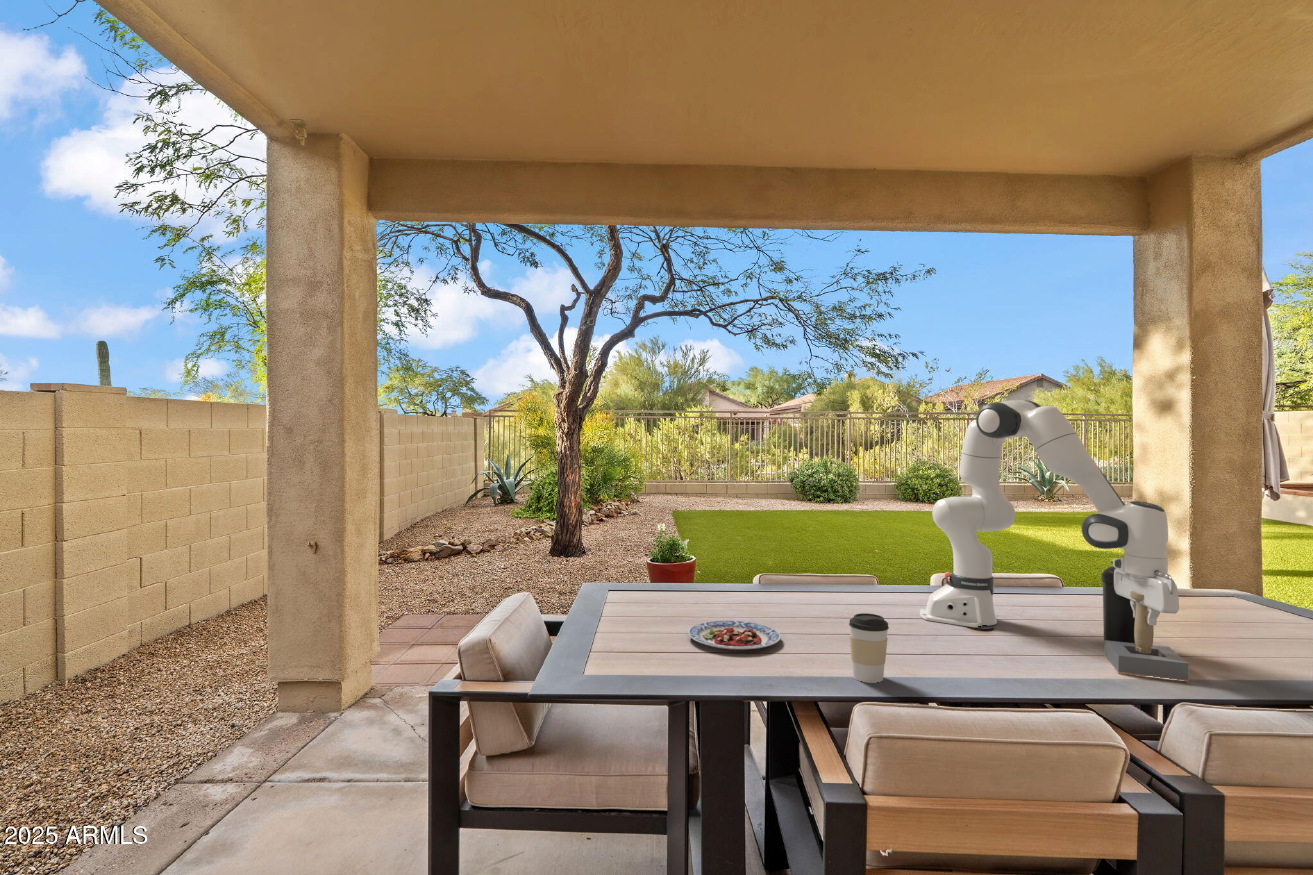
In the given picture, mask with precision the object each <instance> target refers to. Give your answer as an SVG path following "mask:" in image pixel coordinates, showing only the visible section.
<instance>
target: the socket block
mask: <svg viewBox="0 0 1313 875" xmlns="http://www.w3.org/2000/svg"><path fill="white" fill-rule="evenodd" d="M1135 646H1136V644H1135V643H1126V642H1117V641H1108V640H1105V645H1104V648H1103V649H1104V654H1103V655H1104V659H1105V660H1106V661H1107V660H1108V661H1109V662H1108V661H1107V662H1108V664H1110V666H1111V665H1112V666H1113V667H1114V668H1113V667H1112V666H1111V667H1112V668H1113V669H1114V671H1115V672H1116V671H1117V672H1118V673H1121V674H1120V675H1125V674H1130V675H1129V676H1133V675H1138V676H1137V677H1141V676H1153V677H1160V678H1169V679H1177V680H1184V681H1188V682H1189V662H1187V661H1186V660H1185V659H1184V658H1182V657H1181V656H1180V655H1179V654H1178V653H1177V652H1175V651H1174V649H1172V648H1171V647H1169V646H1161V645H1152V647H1151V648H1152V650H1151V653H1150V654H1144V653H1140V652H1137V651H1136V647H1135ZM1117 672H1116V673H1117ZM1118 673H1117V674H1118Z"/></svg>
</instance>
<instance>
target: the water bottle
mask: <svg viewBox="0 0 1313 875" xmlns="http://www.w3.org/2000/svg"><path fill="white" fill-rule="evenodd" d="M1110 564H1112V566H1109V567H1107V568H1105V569H1104V570H1103V572H1101V574H1100V575H1101V577H1100V578H1101V579H1100V580H1101V582H1102V609H1103V610H1102V611H1103V613H1102V615H1103V617H1102V620H1103V623H1102V624H1103V645H1104V646H1105V640H1108V641H1117V642H1126V643H1135V638H1134V636H1135V635H1134V631H1135V630H1134V626H1135V618H1134V617H1133V610H1132V607H1131V604H1130V599H1128V598H1125V597H1123V596H1120V595H1118V594H1116V591H1115V589H1114V570H1115V569H1116V568H1115V567H1114V566H1113V561H1111V562H1110Z"/></svg>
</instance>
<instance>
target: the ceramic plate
mask: <svg viewBox="0 0 1313 875" xmlns="http://www.w3.org/2000/svg"><path fill="white" fill-rule="evenodd" d="M688 636H689V637H690V638H691V639H692V640H694V641H695V642H697V643H699V644H702V645H705V646H707V647H708V646H709V647H714V648H718V649H722V650H727V651H728V650H729V651H745V650H746V651H747V650H753V649H754V650H755V649H761V648H762V649H763V648H766V647H770V646H773V645H775V644H777V643H778V642H779V641H780V640H781V636H782V635H781V634H780V632H779V631H778V630H777V629H774V628H773V627H770V626H768V625H765V624H762V623H757V622H752V621H747V620H746V621H744V620H735V619H734V620H733V619H732V620H731V619H730V620H729V619H727V620H725V619H724V620H710V621H705V622H701V623H697V624H696V625H695V624H694V625H693V626H692V627H690V628H689V629H688Z"/></svg>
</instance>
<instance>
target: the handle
mask: <svg viewBox="0 0 1313 875" xmlns="http://www.w3.org/2000/svg"><path fill="white" fill-rule="evenodd" d="M1130 597H1131V598H1133V599H1134V600H1136V615H1135V626H1134V630H1135V631H1134V635H1135V636H1134V638H1135V644H1136V646H1135V647H1136V651H1137V652H1140V653H1144V654H1150V653H1151V650H1152V648H1151V647H1152V645H1153V644H1154V630H1155V629H1154V628H1155V626H1154V625H1149V624H1146V623H1145V621H1146V620H1145V617H1148V614H1149V611H1148V607H1147V606H1145V605H1142V604H1140V603H1139V602H1141V601H1143V600H1144V595H1142V594H1140V593H1137V592H1135V591H1131V592H1130Z"/></svg>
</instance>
